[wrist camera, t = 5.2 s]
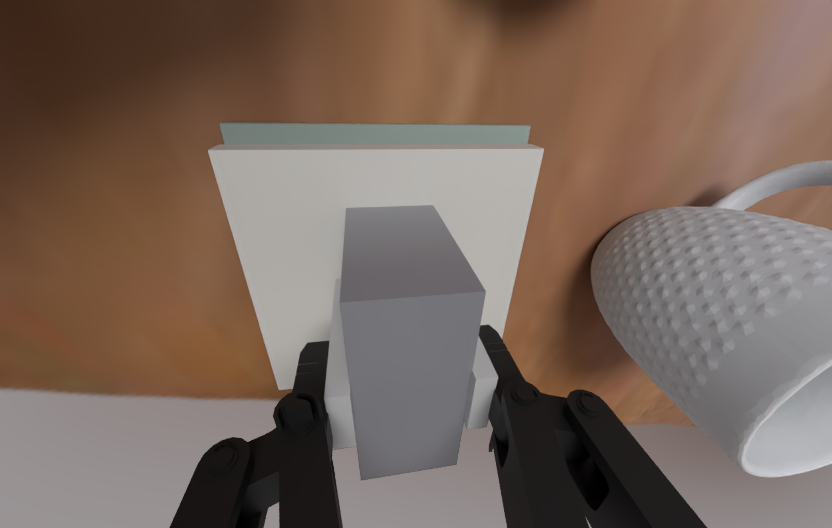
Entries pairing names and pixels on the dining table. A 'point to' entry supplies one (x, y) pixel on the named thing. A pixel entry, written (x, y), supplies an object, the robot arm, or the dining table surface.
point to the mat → (371, 133)
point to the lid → (383, 272)
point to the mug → (731, 319)
